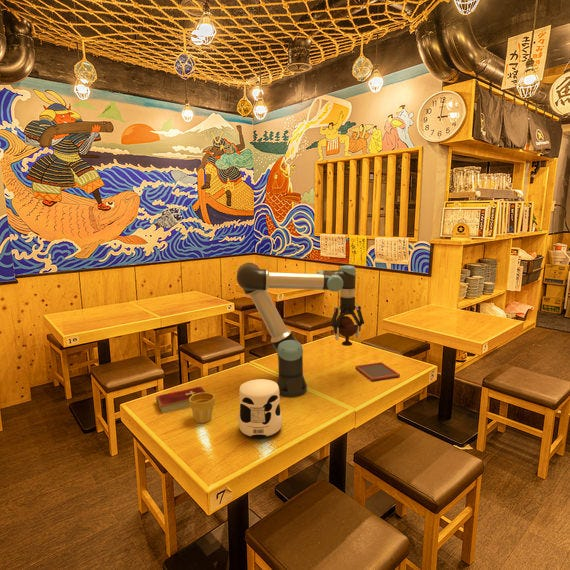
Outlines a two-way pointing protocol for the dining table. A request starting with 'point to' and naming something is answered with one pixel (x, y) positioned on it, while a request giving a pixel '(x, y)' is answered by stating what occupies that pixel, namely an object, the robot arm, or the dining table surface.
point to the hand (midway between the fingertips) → (347, 338)
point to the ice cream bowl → (347, 329)
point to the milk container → (259, 408)
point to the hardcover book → (177, 399)
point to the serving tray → (377, 371)
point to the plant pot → (202, 406)
